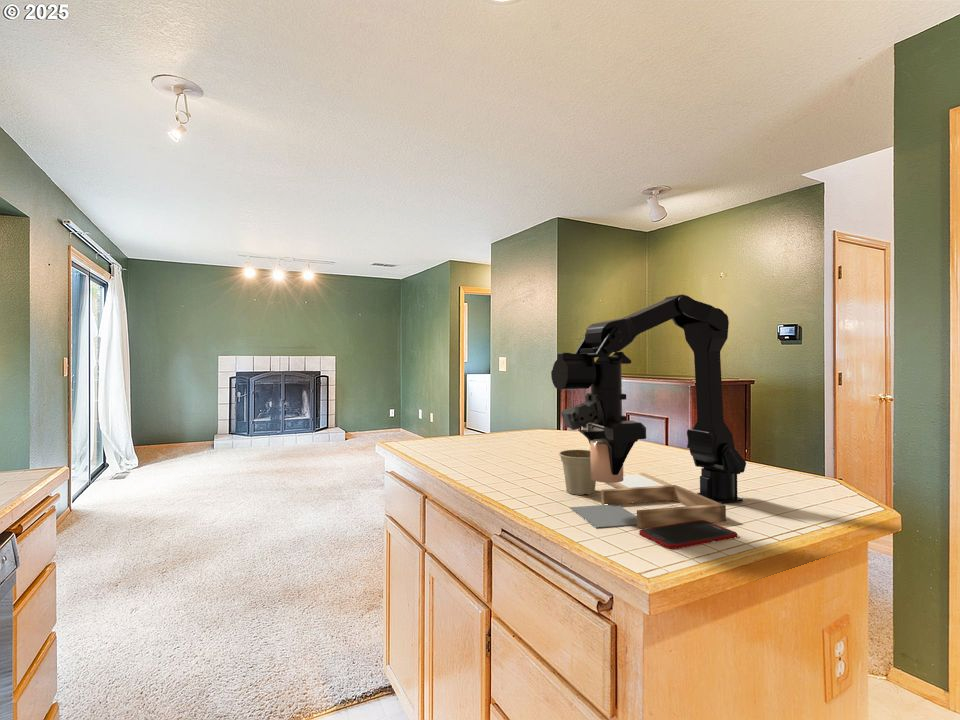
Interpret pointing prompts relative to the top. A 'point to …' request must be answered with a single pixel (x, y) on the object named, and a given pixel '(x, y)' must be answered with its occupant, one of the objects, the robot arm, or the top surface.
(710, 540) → the cell phone
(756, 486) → the top surface
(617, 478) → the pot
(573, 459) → the flower pot
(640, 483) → the wood framed whiteboard
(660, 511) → the wooden u-shaped frame
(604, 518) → the mat
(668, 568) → the top surface
